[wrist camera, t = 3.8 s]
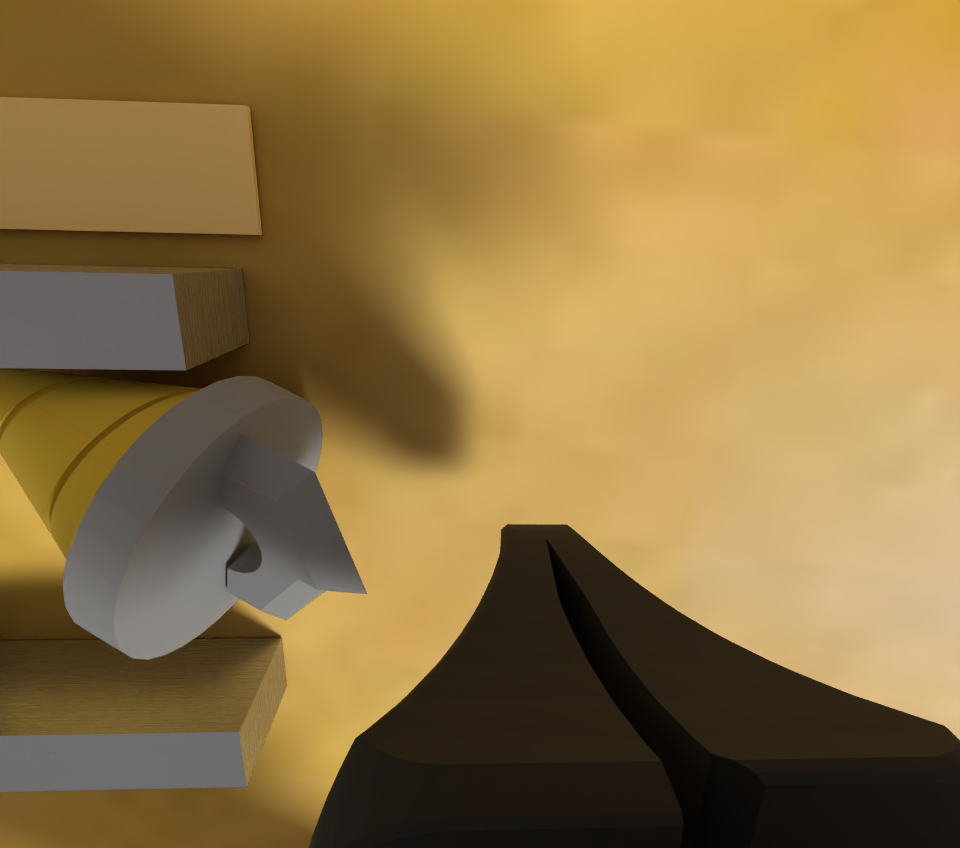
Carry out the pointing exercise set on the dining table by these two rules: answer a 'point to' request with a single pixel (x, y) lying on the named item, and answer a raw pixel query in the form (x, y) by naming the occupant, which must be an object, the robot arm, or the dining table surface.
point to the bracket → (94, 663)
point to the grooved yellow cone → (174, 500)
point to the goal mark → (127, 167)
